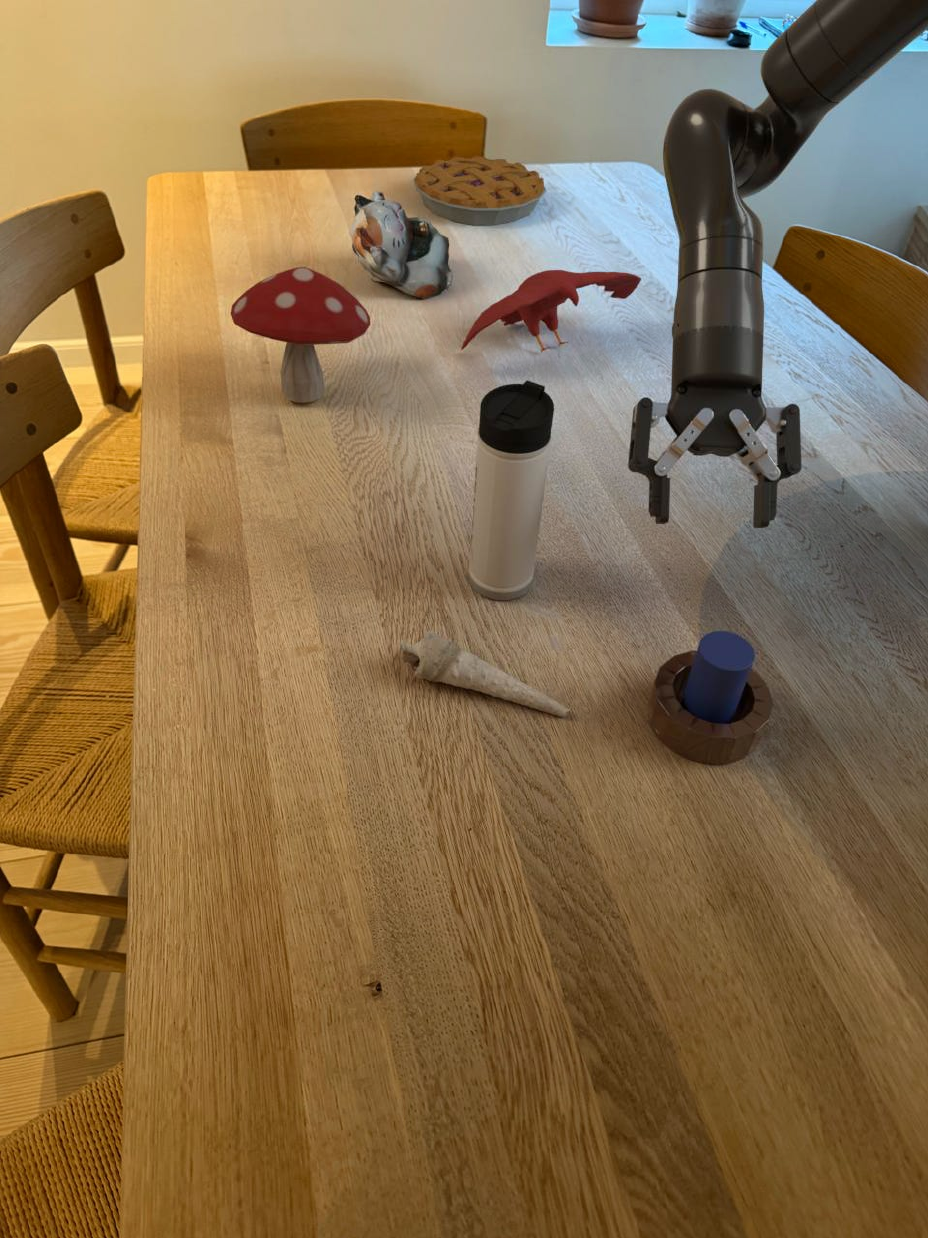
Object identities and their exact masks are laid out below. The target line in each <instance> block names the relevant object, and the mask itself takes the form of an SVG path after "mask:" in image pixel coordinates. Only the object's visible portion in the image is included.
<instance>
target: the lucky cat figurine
mask: <svg viewBox="0 0 928 1238" xmlns="http://www.w3.org/2000/svg"><path fill="white" fill-rule="evenodd" d="M354 201H355V204H354V207H353V211H354V219H353V222H352V224H351V226H350V228H349V235H350V237H351V248H352V253H353V255H354V256H355V258H356V260H357V261H358V262H359V263H360V265H361V266H362V268H363V269H364V270H365V271H366V272H368V275H369V278H370V280H372V281H374V282H382V283H385V284H387V285H390V286H391V287H394V288H396V289H397V290H399V291H401V292H403V293H404V294H407V295H410V296H413V297H415V298H417V299H421V300H426V299H430V298H434V297H438V296H440V295H441V294H442V293H443V292H444V291H448V290H449V289H450V288H451V287H452V282H453V278H454V276H453V275H454V274H453V271H452V269H451V268H450V265H449V262H450V261H449V259H450V254H449V250H450V240H449V237H447V236H446V235H443V234H441V233H440V232H439V230H438V229H437V228H436V227H435V226H434V225H433V223H432V222H431V221H430V220H429V219H427V218H424V217H422V216H421V217H420V216H411V217H408V215H407V214H406V211H405V209H404V207H403V206H402V204H401V203H399V202H398V201H395V200H390V199H386V198H385V195H384V193H383V192H382V191H381V190H375V191H373V192H372V195H371V196H370V198H368V197H365V196H363V195H361V194H356V195H355V196H354Z"/></svg>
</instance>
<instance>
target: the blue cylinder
mask: <svg viewBox="0 0 928 1238" xmlns="http://www.w3.org/2000/svg"><path fill="white" fill-rule="evenodd" d="M696 651H697V652H696V655H695V659H694V662H693V665H692V668H691V672H690V675H689V678H688V681H687V685H686V688H685V691H684V694H683V698H682V701H681V704H680V705H681V706H682V707H683V709H685V710H686V711H688V712H689V713H691V714H692V715H693V716H695V717H696V718H699V719H702V720H705V721H708V722H711V723H719V724H730V723H731V722H732V719H733V716H734V714H735V711H736V708H737V706H738V703H739V700H740V697H741V695H742V692H743V689H744V687H745V684H746V681H747V679H748V676H749V673H750V671H751V668H752V669H753V665H754V662H755V659H756V653H755V649H754V648H753V646H752V644H751V643H750V642H749V641H748V640H747V639H746V638H745V637H743V636H741V635H739V634H737V633H735V632H732V631H726V630H716V631H711V632H708V633H706V634H704V635H703V637H701V639H700V640H699V643H698V646H697V649H696Z"/></svg>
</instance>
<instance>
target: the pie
mask: <svg viewBox="0 0 928 1238" xmlns="http://www.w3.org/2000/svg"><path fill="white" fill-rule="evenodd" d="M412 181H413V183H414V188H415V190H416V192H418V193H419V194H420V198H421V200H422V201H423V204H424V206H425V207H426V208H427V209H429V211H431V212H432V213H433V214H434V215H436V216H439V217H441V218H443V219H446V220H449V221H451V222H454V223H459V224H460V223H461V224H465V225H469V226H470V225H471V226H497V225H502V224H507V223H513V222H517V221H518V220H520V219H523V218H525V217H527V216H529V215H531V213H532V212H533V211H534V210H535V208H536V207H537V205H538V202H539V201H540V200H541V198H542V197H543V196H544V194H545V193H546V192H547V189H546V187H545V181H544V177H540V174H539V172H538V171H536V170H528V169H527V168H526V166H525V165H524V164H522V163H520V162H514V163H511V162H508V161H507V159H505V158H504V159H503V158H495V159H492V158H491V159H489V158H487V157H485V155H474V156H473V157H472V158H465V157H461V156H454V157H452V158H451V159H448V160H443V159H441V158H439V159H435V160H434V161H433V164H431V165H423V166H422V167H421V168H420V169H419V170H418V172H417V173H416V175H415V177H414V178H413V180H412Z"/></svg>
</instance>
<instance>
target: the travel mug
mask: <svg viewBox="0 0 928 1238" xmlns="http://www.w3.org/2000/svg"><path fill="white" fill-rule="evenodd" d="M545 389H546V386H545V385H542V384H540V383H536V382H534V381H531V380H525V381H524V382H523V383H508V384H503V385H500V386H498V387H495V388H492V389H491V390H490V391H488V392H487V393H486V394H485V395H484V396H483V398H482V399H481V402H480V407H479V409H480V410H479V424H478V429H477V443H476V459H475V472H474V473H475V474H474V490H473V491H474V492H473V502H472V518H471V535H470V549H469V563H468V577H467V578H468V582H469V584H470V586H471V587H472V589H473V591H475V592H476V593H478V594H479V595H480V596H482V597H485V598H488V599H490V600H495V601H511V600H515V599H518V598H520V597H523V596H524V595H525V594H526V593H527V592H529V591H530V589H531V588H532V585H533V581H534V575H535V574H534V573H535V566H536V559H537V552H538V551H537V549H538V543H539V535H540V527H541V520H542V512H543V506H544V505H543V504H544V496H545V489H546V482H547V481H546V480H547V472H548V466H549V465H548V464H549V459H550V458H549V457H550V449H551V441H552V427H553V423H554V413H555V404H554V400H553V398H552V397H551V396H550V394H548V393H547V392H546V391H545Z"/></svg>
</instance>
